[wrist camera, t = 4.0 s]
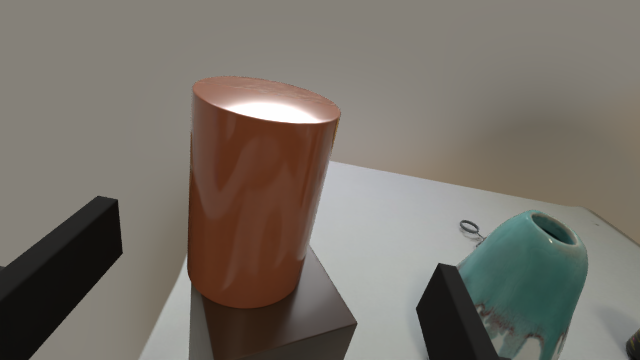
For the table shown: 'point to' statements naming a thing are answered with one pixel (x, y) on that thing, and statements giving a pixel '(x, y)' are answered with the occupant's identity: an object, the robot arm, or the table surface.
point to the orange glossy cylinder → (254, 186)
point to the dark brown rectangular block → (276, 324)
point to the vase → (527, 284)
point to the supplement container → (634, 346)
